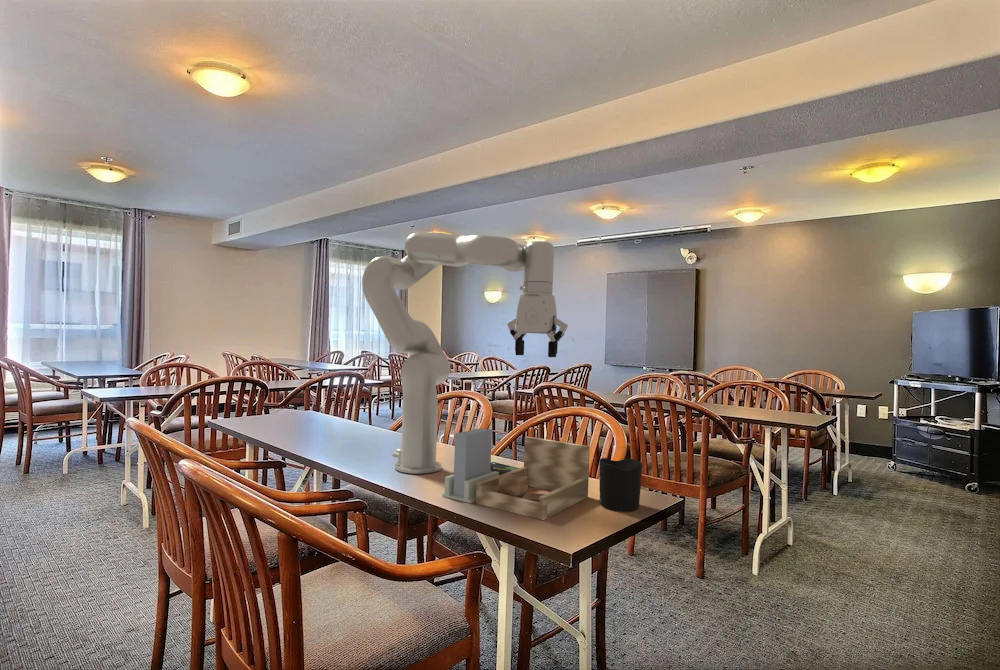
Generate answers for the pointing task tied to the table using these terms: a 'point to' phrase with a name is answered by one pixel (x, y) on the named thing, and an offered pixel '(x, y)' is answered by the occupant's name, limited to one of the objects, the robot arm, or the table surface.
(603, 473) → the pen holder
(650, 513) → the table surface
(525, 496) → the offcut
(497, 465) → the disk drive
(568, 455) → the tray
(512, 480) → the offcut
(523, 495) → the offcut
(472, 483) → the stand
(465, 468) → the blue-grey flat block
